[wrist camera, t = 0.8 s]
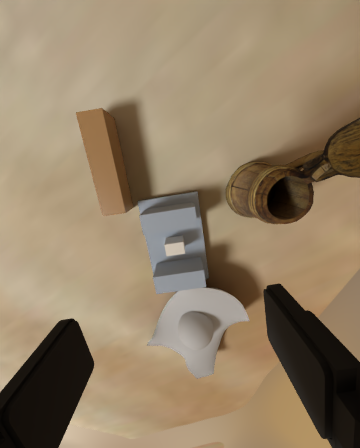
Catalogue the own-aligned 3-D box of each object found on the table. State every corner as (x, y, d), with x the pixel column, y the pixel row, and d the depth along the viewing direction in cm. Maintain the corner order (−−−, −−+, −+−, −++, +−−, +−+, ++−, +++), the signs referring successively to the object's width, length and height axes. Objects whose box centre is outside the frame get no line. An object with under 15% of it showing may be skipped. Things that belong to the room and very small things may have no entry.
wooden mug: (311, 168, 31) (481, 160, 13) (249, 226, 33) (326, 284, 16) (275, 128, 29) (416, 59, 12) (214, 192, 32) (256, 215, 14)
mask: (140, 333, 39) (199, 355, 43) (135, 371, 32) (205, 394, 36) (190, 259, 35) (251, 290, 38) (197, 285, 28) (271, 320, 31)
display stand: (139, 200, 32) (130, 206, 26) (196, 191, 32) (200, 194, 26) (156, 282, 36) (152, 302, 30) (208, 274, 36) (213, 294, 30)
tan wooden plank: (91, 122, 29) (74, 112, 24) (114, 119, 29) (101, 108, 24) (113, 210, 33) (101, 216, 28) (133, 207, 33) (125, 212, 28)
